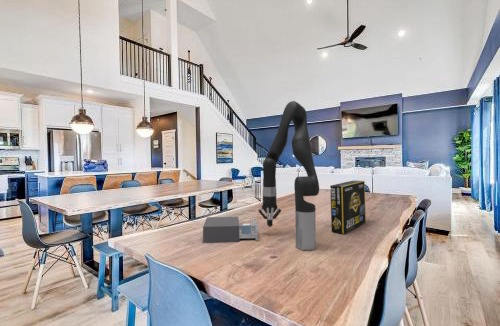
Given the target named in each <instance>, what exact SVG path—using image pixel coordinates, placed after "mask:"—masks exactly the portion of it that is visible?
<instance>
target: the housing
mask: <svg viewBox="0 0 500 326" xmlns="http://www.w3.org/2000/svg"><path fill="white" fill-rule="evenodd" d="M203 223H204V224H203V226H202V243H203V244H209V243H212V244H213V243H240V239H239V226H240V220H239V216H212V217H211V216H210V217H208V216H207V217H206V219H205V221H204V222H203Z"/></svg>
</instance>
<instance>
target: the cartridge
mask: <svg viewBox="0 0 500 326" xmlns="http://www.w3.org/2000/svg"><path fill="white" fill-rule="evenodd" d="M251 225H252V224H251V223H250V222H249V223H241V226H242V233H251Z"/></svg>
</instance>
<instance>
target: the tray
mask: <svg viewBox="0 0 500 326" xmlns="http://www.w3.org/2000/svg"><path fill="white" fill-rule="evenodd" d="M240 239H254V240H255V241H259V225H258V222H257V219H256V216H254V215H253V216H252V224H251V233H242V225H239V240H240Z"/></svg>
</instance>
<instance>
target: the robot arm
mask: <svg viewBox="0 0 500 326" xmlns="http://www.w3.org/2000/svg"><path fill="white" fill-rule="evenodd" d="M307 115H308V114H307V110H306V108H305V107H304V106H303V105H301V104H300V103H299V102H297V101H295V100H291V101H289V102H288V103H287V104H286V105H285V107H284V109H283V112H282V116H281V118H280V122H279V124H278V125H279V126H278V128H277V132H276V134H275V137H274V138H273V141H272V143H271V145H270V147H269V151H268V153H267V155H266V156H265V158H264V160H263V163H262V174H263V177H262V205H261V208H259V209H258V213H259V215H261V216H262V218H263V219H264V220H266V225H267V227H269V228H270V227H273V223H274V222H273V220H274V219H275V220H276V219H277V218H278V216H279V215H280V213H281V212H282V209H281V208H279V207H278V204H277V180H276V179H277V177H276V173H277V164H278V161H279V159H280V157H281V156H282V154H283V152H284V149H285V148H286V146H287V143H288V137H289V129H290V124H291V122H292V123H293V126H294V134H293V137H292V139H291V147H292V148H291V149H292V154H293V156H294V158H295V159H296V160H297V162H299V164H300V165H301V166H302V167H303V168H304V170H305V172H306V176H297V177H296V176H295V179H294V184H293V185H294V203H295V204H294V205H295V207H294V208H295V209H294V210H295V219H294V221H295V228H294V229H295V248H297V249H298V250H301V251H315V249H316V244H317V243H316V242H317V241H316V205H315V204H314V203H312V202H309V201H306V200H305V199H304V197H315V196H318V195H319V192H320V183H319V178H318V175H317V170H316V167H315V164H314V158H313V152H312V145H311V140H310V135H309V131H308V130H309V129H308V121H307V120H308V119H307ZM264 213H265V214H264Z"/></svg>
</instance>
